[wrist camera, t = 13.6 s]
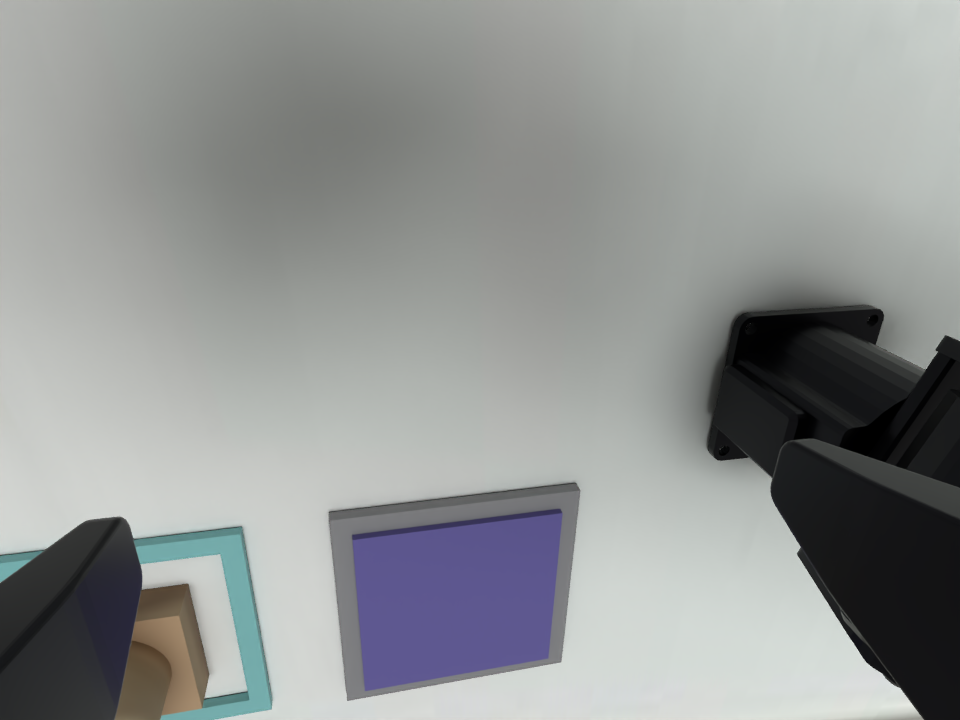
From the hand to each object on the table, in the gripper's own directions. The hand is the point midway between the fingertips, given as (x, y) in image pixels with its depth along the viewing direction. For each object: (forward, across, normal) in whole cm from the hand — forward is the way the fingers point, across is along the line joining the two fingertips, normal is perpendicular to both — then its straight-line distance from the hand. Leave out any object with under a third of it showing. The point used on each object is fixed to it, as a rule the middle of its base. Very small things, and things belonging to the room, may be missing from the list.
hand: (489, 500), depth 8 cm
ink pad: (+13, -2, +15) cm, 20 cm away
